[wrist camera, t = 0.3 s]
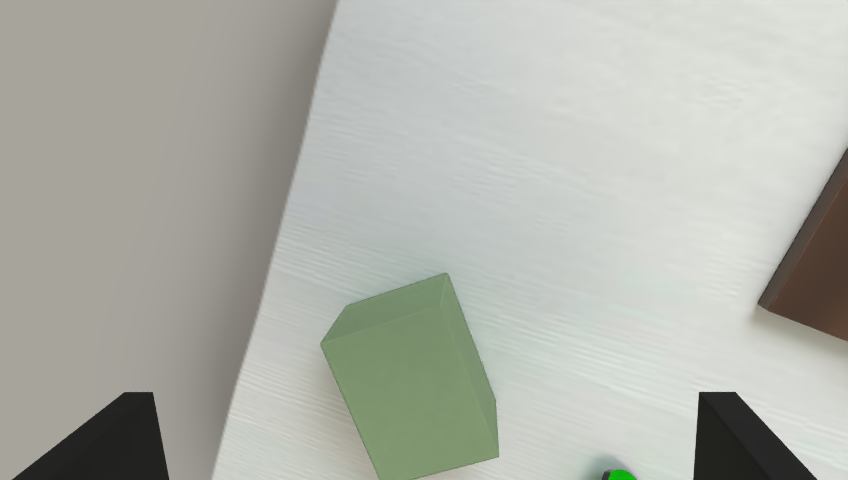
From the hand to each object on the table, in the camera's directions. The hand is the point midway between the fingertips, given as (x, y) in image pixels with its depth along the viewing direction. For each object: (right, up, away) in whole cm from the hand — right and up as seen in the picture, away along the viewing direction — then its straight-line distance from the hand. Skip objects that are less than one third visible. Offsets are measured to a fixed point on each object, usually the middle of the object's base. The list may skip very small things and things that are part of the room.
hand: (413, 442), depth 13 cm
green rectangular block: (0, -1, +17) cm, 17 cm away
